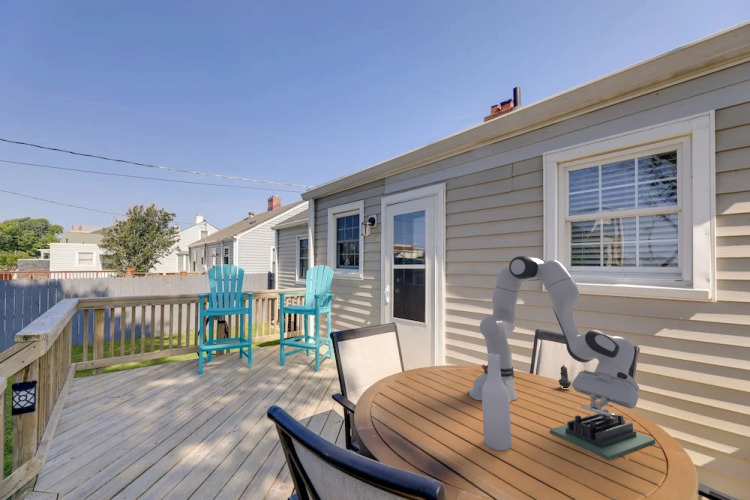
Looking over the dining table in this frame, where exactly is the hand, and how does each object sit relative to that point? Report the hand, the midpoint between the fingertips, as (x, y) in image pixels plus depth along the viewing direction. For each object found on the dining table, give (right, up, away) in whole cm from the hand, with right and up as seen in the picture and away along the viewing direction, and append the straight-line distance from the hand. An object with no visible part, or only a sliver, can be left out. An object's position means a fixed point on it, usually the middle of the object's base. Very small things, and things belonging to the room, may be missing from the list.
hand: (594, 408), depth 111 cm
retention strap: (+2, -2, +1) cm, 4 cm away
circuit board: (+2, -10, 0) cm, 10 cm away
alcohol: (-37, -10, -5) cm, 38 cm away
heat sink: (+2, -10, 0) cm, 10 cm away
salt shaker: (+21, -16, +51) cm, 57 cm away
